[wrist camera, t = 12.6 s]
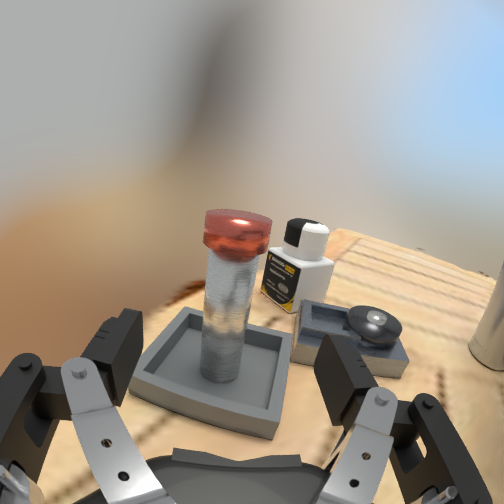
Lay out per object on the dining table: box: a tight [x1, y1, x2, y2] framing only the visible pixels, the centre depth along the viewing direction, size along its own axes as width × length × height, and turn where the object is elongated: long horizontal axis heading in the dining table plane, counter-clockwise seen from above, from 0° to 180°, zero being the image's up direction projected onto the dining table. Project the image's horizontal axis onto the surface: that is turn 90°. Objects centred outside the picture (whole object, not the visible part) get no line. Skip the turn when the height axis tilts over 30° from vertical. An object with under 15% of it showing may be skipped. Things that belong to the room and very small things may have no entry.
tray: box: [128, 306, 293, 440], centre depth 23 cm, size 12×12×2 cm
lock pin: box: [200, 209, 272, 383], centre depth 21 cm, size 5×5×14 cm
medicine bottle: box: [261, 218, 335, 313], centre depth 39 cm, size 7×7×12 cm
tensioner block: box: [291, 299, 409, 378], centre depth 30 cm, size 13×10×5 cm
